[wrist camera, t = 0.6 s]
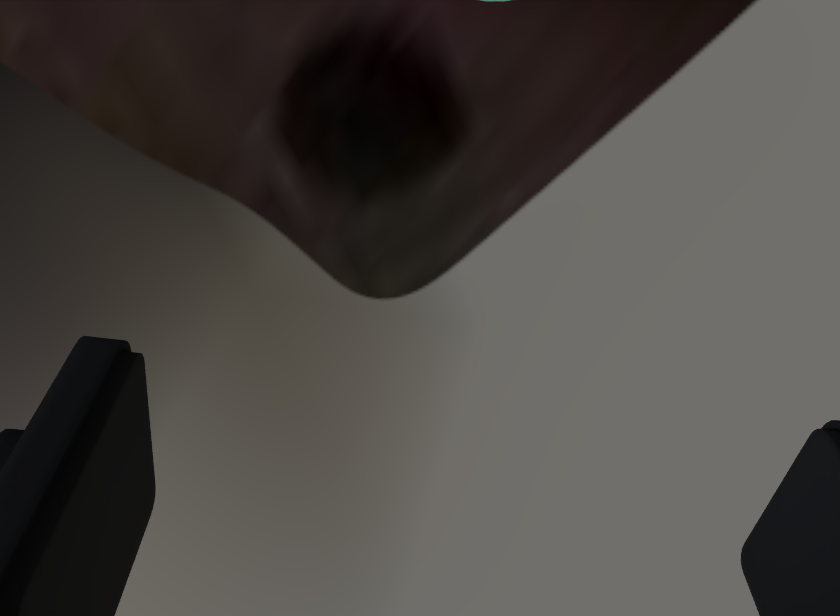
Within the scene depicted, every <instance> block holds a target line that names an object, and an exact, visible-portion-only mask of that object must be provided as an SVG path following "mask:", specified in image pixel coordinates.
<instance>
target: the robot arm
mask: <svg viewBox="0 0 840 616" xmlns="http://www.w3.org/2000/svg"><path fill="white" fill-rule="evenodd" d="M154 500H155V475H154V464H153V453H152V441H151V430H150V419H149V407H148V396H147V385H146V374H145V362H144V357H143V355H142V354H141V353H134V352H131V348H130V345H129V343H128V341H125V340H116V339H107V338H98V337H89V336H83V337H81V338H80V339H79V340H78V342H77V343H76V344H75V346H74V348H73V349H72V351H71V353H70V355H69V356H68V358H67V360H66V361H65V363H64V365H63V366H62V368H61V370H60V371H59V373H58V375H57V377H56V378H55V380H54V382H53V383H52V385H51V387H50V388H49V390H48V392H47V393H46V395H45V397H44V399H43V400H42V402H41V404H40V405H39V407H38V409H37V411H36V412H35V414H34V415H33V417H32V419H31V420H30V422H29V424H28V425H27V427H26V429H25V430H18V429H5V430H4V431H2V432H0V616H114V615H115V613H116V610H117V607H118V604H119V602H120V599H121V596H122V593H123V590H124V588H125V585H126V582H127V579H128V577H129V574H130V571H131V568H132V565H133V563H134V560H135V557H136V555H137V552H138V549H139V546H140V544H141V541H142V538H143V535H144V532H145V530H146V527H147V524H148V521H149V518H150V516H151V513H152V509H153V505H154ZM741 565H742V570H743V573H744V576H745V578H746V581H747V583H748V586H749V589H750V591H751V594H752V596H753V599H754V601H755V604H756V607H757V610H758V612H759V615H760V616H840V421H838V420H831V421H830V422H827V423H826V424H825V425H824V426H823V427H822V428H821V429H817V430H814V431H813V432H812V433H811V435H810V436H809V438H808V440H807V441H806V443H805V444H804V446H803V448H802V449H801V451H800V453H799V454H798V456H797V458H796V459H795V461H794V462H793V464H792V466H791V467H790V469H789V471H788V472H787V474H786V476H785V477H784V479H783V481H782V482H781V484H780V486H779V487H778V489H777V490H776V492H775V494H774V495H773V497H772V499H771V500H770V502H769V504H768V505H767V507H766V509H765V510H764V512H763V514H762V515H761V517H760V519H759V520H758V522H757V524H756V525H755V527H754V529H753V530H752V532H751V533H750V535H749V537H748V538H747V540H746V542H745V543H744V545H743V548H742V552H741Z"/></svg>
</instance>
